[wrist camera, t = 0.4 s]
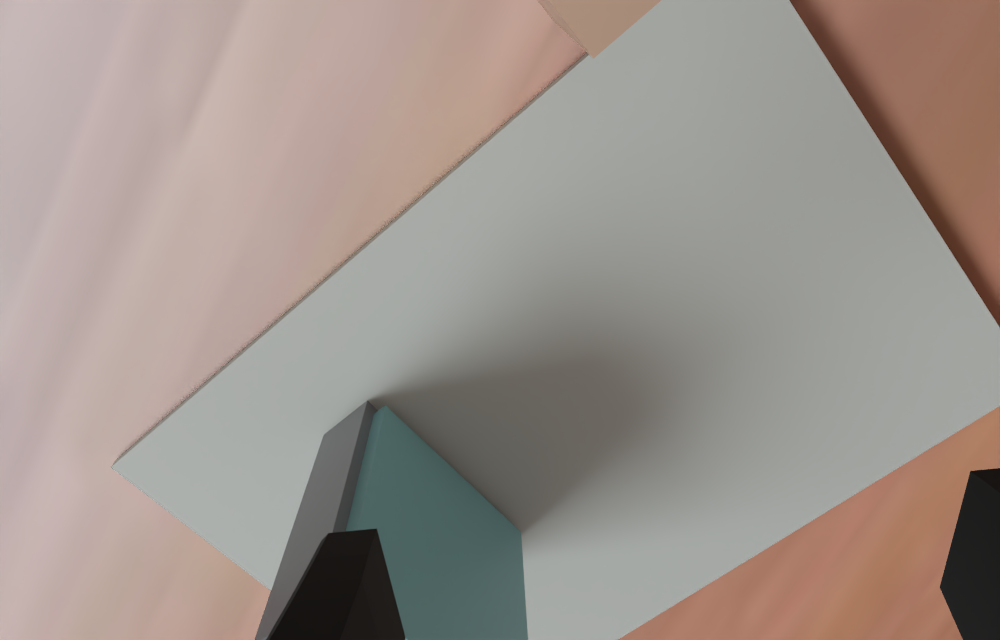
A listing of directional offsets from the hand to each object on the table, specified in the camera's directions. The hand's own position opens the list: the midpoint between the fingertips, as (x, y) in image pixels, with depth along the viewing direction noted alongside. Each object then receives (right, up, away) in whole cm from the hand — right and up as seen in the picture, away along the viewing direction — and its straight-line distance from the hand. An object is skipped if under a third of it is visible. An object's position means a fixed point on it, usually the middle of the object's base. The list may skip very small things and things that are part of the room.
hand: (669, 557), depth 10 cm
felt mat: (0, 0, +11) cm, 11 cm away
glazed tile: (-4, -2, +12) cm, 12 cm away
